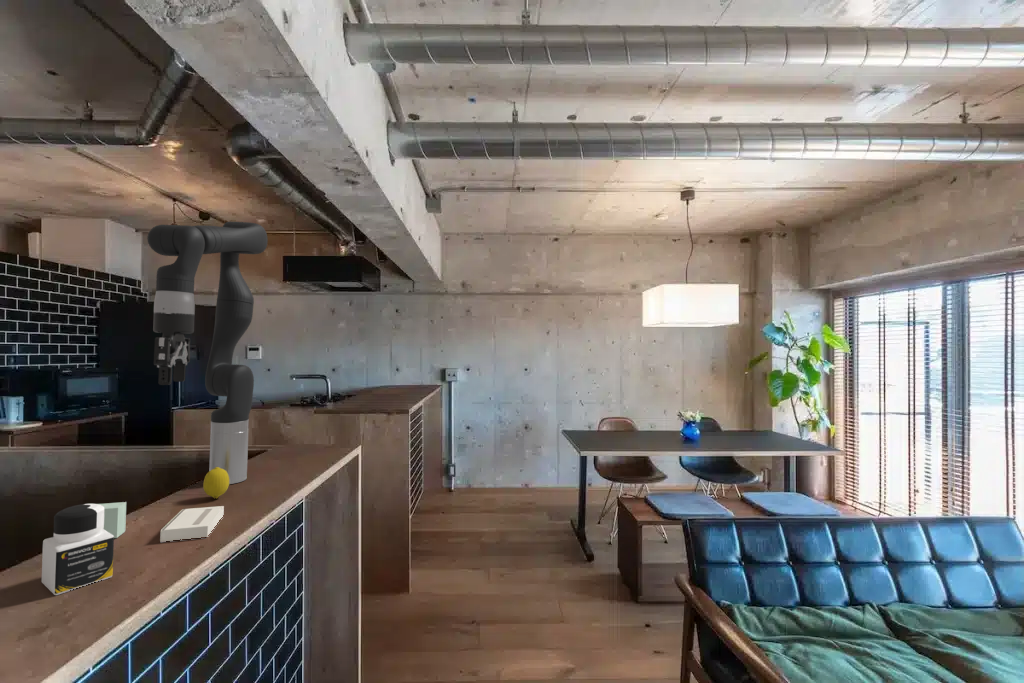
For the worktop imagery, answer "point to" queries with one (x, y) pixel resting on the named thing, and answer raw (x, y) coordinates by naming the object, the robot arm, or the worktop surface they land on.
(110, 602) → the worktop surface
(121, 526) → the pale green block
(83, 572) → the medicine bottle
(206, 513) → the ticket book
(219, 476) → the lemon
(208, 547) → the worktop surface
